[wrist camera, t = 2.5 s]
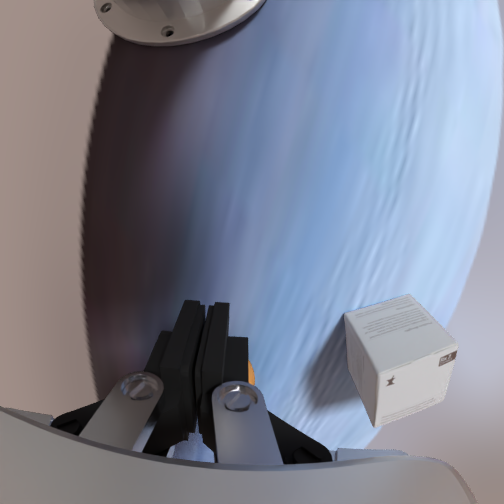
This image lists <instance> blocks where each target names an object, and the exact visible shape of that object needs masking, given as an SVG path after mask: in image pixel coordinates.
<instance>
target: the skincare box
mask: <svg viewBox="0 0 504 504" xmlns="http://www.w3.org/2000/svg"><path fill="white" fill-rule="evenodd" d="M344 321H345V332H346V346H347V364H348V370H349V372H350V374H351V376H352V379H353V381H354V383H355V386H356V388H357V390H358V392H359V395H360V397H361V399H362V402H363V404H364V407H365V409H366V411H367V414H368V416H369V419H370V421H371V423H372V426H373V427H374V428H376V427H379V426H382V425H384V424H387V423H390V422H393V421H395V420H398V419H401V418H403V417H406V416H408V415H411V414H413V413H416V412H418V411H420V410H423V409H425V408H428V407H430V406H432V405H435V404H437V403H439V402H441V401H443V399H444V397H445V394H446V391H447V387H448V384H449V380H450V376H451V373H452V369H453V365H454V362H455V357H456V353H457V349H458V343H457V341H456V340H455V339H454V338H453V337H452V336H451V335H450V334H449V333H448V332H447V331H446V330H445V329H444V328H443V327H442V326H441V325H440V324H439V323H438V322H437V321H436V320H435V319H434V317H432V316H431V314H430V313H429V312H428V311H427V310H426V309H425V308H424V307H423V306H422V305H421V304H420V303H419V302H417V301H416V300H415V299H414V298H413V297H412V296H411V294H407V295H403V296H400V297H397V298H394V299H391V300H388V301H384V302H381V303H378V304H375V305H371V306H368V307H364V308H361V309H357V310H354V311H350V312H346V313H344Z"/></svg>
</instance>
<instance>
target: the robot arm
mask: <svg viewBox="0 0 504 504" xmlns="http://www.w3.org/2000/svg"><path fill="white" fill-rule="evenodd" d="M265 1H266V0H252V1H249V0H94V8H95V11H96V13H97V16H98V18H99V19H100V21H101V22H102V23H103V24H104V26H105V27H106V28H108V29H109V30H110V31H111V32H113V33H114V34H115V35H117V36H119V37H121V38H123V39H124V40H126V41H130V42H133V43H136V44H139V45H148V46H156V47H157V46H176V45H182V44H188V43H194V42H197V41H200V40H204V39H207V38H211V37H213V36H216V35H218V34H220V33H223V32H225V31H227V30H230V29H231V28H233V27H234V26H236V25H238V24H240V23H241V22H243V21H245V20H246V19H247V18H248V17H250V16H251V15H252V14H253V13H254V12H256V11H257V10H258V9H259V8H260V7H261V5H262V4H263V3H264V2H265ZM170 33H174V34H172V35H171V36H169V37H167V36H168V34H170ZM228 330H229V303H222V302H215V304H214V306H211V305H209V308H208V312H207V317H206V321H205V305H200V301H194V300H185V301H184V304H183V306H182V309H181V311H180V314H179V316H178V319H177V322H176V324H175V327H174V329H173V332H170V331H161V333H160V335H159V337H158V339H157V342H156V344H155V346H154V349H153V351H152V353H151V356H150V358H149V360H148V363H147V365H146V367H145V370H144V372H143V371H139V372H132V373H128V374H127V375H125V376H123V377H122V378H121V379H120V380H119V381H118V382H117V383H116V385H115V386H114V388H113V389H112V390H111V392H110V393H109V394H108V396H107V397H106V399H104V400H101V401H98V402H96V403H93V404H90V405H88V406H85V407H82V408H80V409H77V410H74V411H71V412H68V413H65V414H62V415H60V416H58V417H57V418H56V419H54V418H53V416H52V415H46V414H40V413H34V412H28V411H23V410H17V409H12V408H4V407H1V406H0V504H478V502H477V500H476V498H475V496H474V494H473V493H472V491H471V489H470V488H469V487H468V485H467V483H466V482H465V480H464V479H463V477H462V476H461V475H460V473H459V472H458V471H457V470H456V469H455V468H454V467H453V466H451V465H450V464H448V463H447V462H444V461H442V460H438V459H435V458H430V457H422V456H409V455H408V454H407V453H405V452H403V451H400V450H371V449H347V448H338V449H337V451H331V450H328V449H327V448H326V447H325V446H323V445H322V444H320V443H319V442H317V441H315V440H313V439H312V438H310V437H308V436H307V435H305V434H304V433H302V432H300V431H299V430H297V429H295V428H294V427H292V426H291V425H289V424H288V423H286V422H284V421H283V420H281V419H280V418H278V417H277V416H275V415H274V414H272V413H271V412H269V411H268V410H267V408H266V404H265V401H264V397H263V395H262V393H261V391H260V390H259V389H258V388H257V387H256V386H254V385H252V384H250V383H249V367H248V337H230V336H228ZM197 416H198V426H199V433H200V434H202V438H203V443H204V444H205V445H206V446H207V447H208V448H210V449H211V450H212V451H213V452H214V462H215V463H210V462H199V461H190V460H182V459H175V458H172V456H173V453H174V450H175V444H177V443H179V442H181V441H183V440H186V441H188V437H189V432H190V433H195V429H196V422H197Z"/></svg>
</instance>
